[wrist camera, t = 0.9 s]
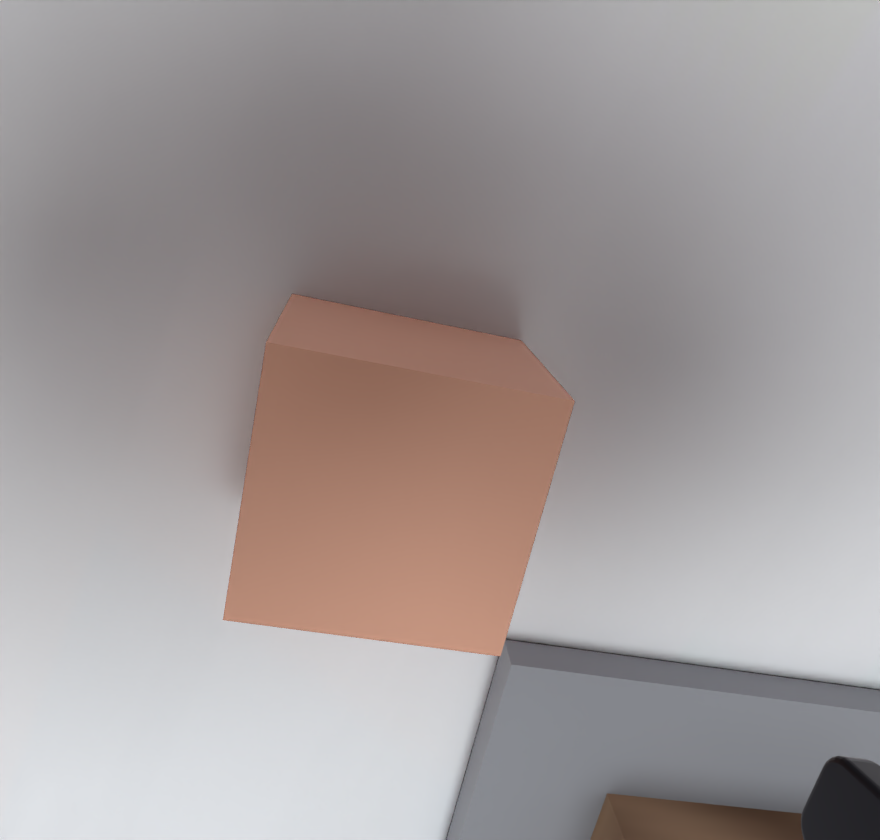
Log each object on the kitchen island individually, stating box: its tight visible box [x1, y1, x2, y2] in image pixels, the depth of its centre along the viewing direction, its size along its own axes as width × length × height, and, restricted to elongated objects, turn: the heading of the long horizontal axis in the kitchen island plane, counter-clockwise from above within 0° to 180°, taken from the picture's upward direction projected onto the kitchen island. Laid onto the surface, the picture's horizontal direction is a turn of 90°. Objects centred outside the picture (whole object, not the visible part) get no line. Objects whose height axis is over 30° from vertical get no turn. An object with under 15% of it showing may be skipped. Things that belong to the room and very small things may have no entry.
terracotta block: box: [223, 294, 575, 656], centre depth 15 cm, size 5×5×4 cm
